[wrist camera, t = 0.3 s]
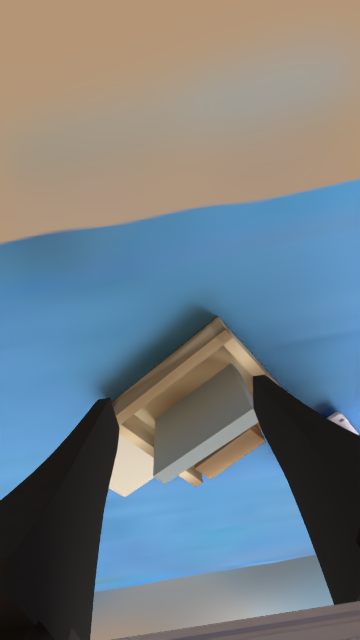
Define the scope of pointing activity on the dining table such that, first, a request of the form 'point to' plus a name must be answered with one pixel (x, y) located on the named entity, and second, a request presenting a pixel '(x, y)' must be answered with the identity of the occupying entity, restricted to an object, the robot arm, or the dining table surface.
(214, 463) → the offcut upper
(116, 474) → the mat
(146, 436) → the wooden tray
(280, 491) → the dining table surface
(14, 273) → the dining table surface
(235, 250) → the dining table surface
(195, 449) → the sheet
